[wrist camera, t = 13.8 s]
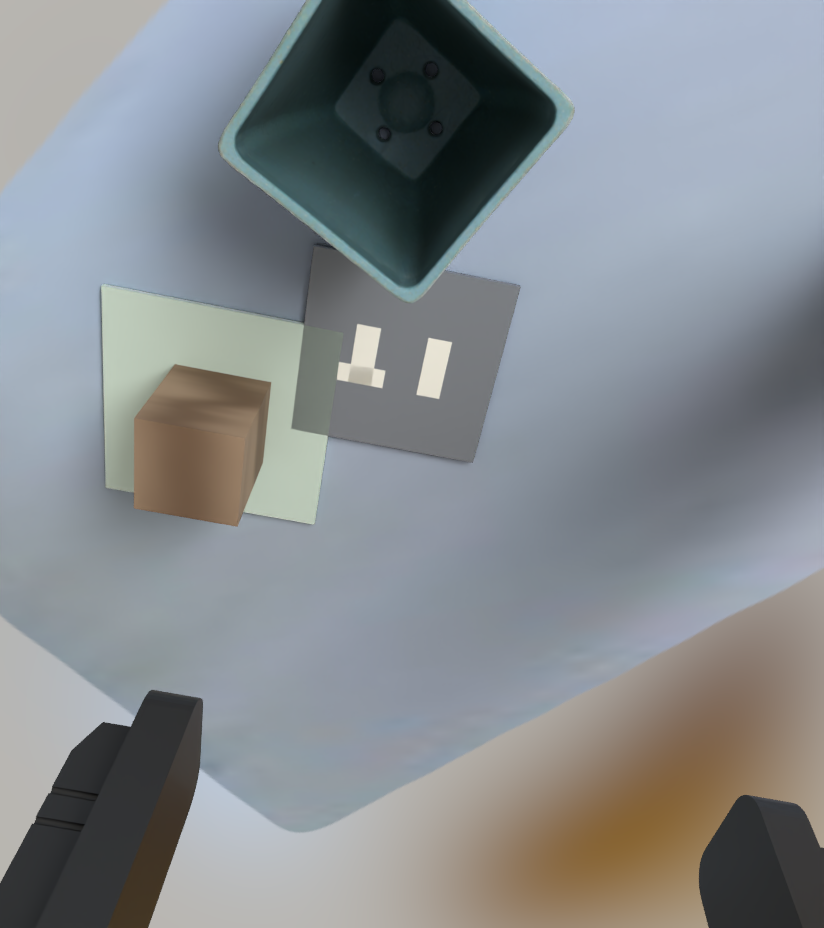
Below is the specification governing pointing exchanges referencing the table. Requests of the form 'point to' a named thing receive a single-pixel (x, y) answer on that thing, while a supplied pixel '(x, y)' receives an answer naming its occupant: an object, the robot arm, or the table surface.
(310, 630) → the table surface
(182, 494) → the walnut block
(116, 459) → the coaster
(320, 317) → the tile
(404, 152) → the flower pot
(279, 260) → the table surface
